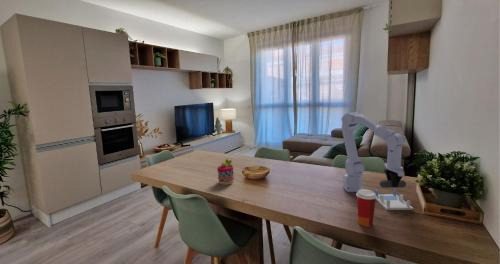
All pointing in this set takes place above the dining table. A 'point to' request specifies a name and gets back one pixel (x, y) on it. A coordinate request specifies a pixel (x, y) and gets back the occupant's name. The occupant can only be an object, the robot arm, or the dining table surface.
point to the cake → (225, 173)
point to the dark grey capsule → (389, 184)
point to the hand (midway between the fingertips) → (392, 185)
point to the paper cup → (365, 207)
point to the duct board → (393, 201)
